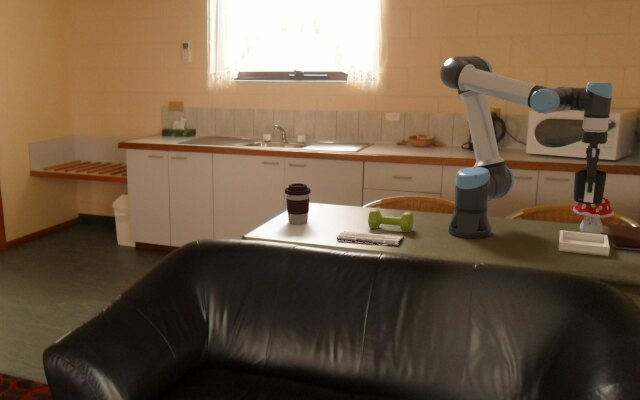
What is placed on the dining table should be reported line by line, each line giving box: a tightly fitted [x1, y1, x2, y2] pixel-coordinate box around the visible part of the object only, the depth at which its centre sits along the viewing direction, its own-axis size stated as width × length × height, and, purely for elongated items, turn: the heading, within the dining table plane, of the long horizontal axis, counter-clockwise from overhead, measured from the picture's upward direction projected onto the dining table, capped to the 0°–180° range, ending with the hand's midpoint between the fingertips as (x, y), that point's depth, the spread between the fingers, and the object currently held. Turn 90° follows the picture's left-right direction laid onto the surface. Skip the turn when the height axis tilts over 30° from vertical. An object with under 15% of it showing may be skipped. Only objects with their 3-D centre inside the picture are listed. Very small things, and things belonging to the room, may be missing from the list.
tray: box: [558, 229, 611, 257], centre depth 198 cm, size 15×15×3 cm
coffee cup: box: [284, 182, 312, 225], centre depth 227 cm, size 10×10×15 cm
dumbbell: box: [367, 208, 414, 233], centre depth 218 cm, size 16×8×7 cm, turn 69°
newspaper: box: [336, 230, 404, 246], centre depth 207 cm, size 23×12×2 cm, turn 70°
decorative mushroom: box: [572, 194, 615, 234], centre depth 212 cm, size 14×14×15 cm
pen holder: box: [573, 168, 607, 204], centre depth 193 cm, size 9×9×10 cm
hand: (587, 198), depth 194 cm, fingers closed on pen holder, 9 cm apart
